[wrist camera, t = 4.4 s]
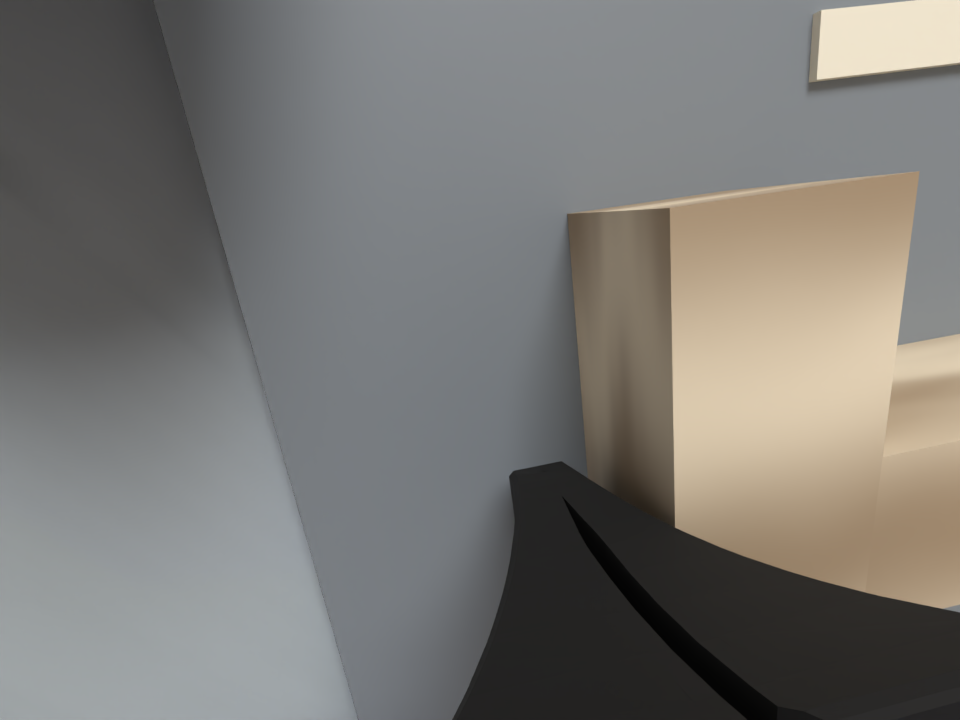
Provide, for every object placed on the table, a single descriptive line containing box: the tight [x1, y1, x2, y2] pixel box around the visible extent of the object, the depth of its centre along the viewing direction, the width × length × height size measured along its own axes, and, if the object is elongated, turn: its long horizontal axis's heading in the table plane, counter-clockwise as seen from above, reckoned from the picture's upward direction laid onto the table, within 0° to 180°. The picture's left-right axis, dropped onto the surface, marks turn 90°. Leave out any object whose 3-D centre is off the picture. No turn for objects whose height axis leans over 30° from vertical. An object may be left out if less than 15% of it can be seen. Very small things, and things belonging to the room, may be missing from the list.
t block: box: [567, 171, 960, 609], centre depth 10 cm, size 12×12×4 cm
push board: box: [153, 0, 960, 720], centre depth 13 cm, size 22×27×1 cm
